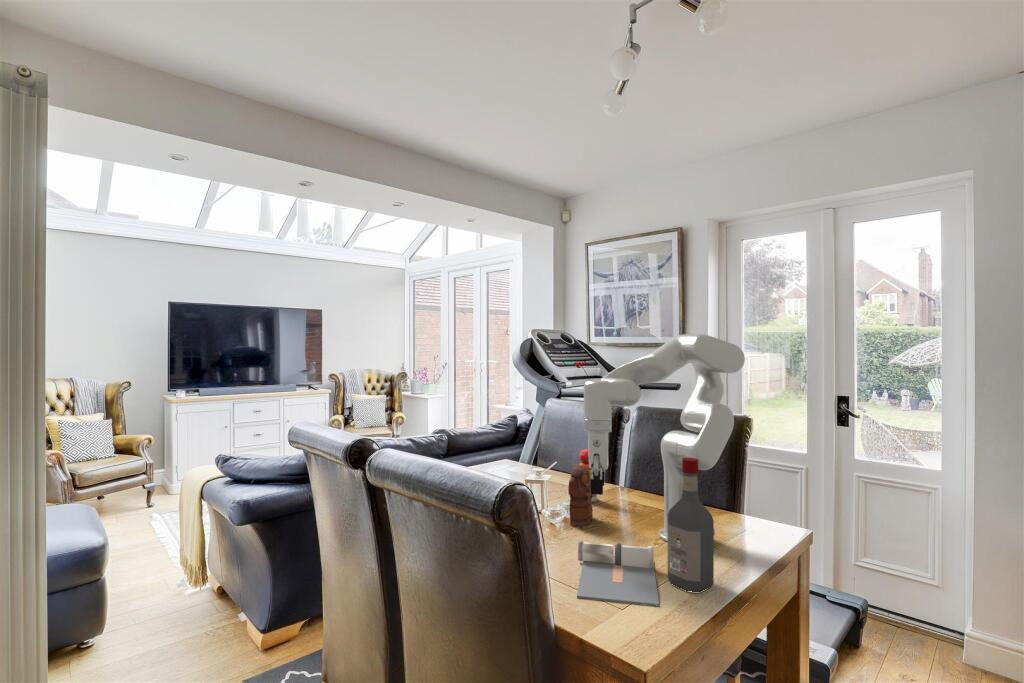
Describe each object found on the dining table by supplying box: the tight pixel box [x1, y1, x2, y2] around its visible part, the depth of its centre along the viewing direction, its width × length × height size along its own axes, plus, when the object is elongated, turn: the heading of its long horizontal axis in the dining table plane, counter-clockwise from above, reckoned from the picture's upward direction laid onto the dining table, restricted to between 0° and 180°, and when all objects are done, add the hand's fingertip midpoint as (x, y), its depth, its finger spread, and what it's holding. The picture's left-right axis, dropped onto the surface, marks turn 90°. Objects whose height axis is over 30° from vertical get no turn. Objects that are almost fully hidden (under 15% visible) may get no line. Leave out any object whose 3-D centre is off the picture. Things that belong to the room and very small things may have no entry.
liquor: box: [667, 458, 715, 593], centre depth 125 cm, size 9×9×30 cm
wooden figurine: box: [567, 464, 594, 527], centre depth 168 cm, size 12×6×18 cm, turn 157°
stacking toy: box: [578, 448, 598, 503], centre depth 191 cm, size 8×8×19 cm
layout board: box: [576, 542, 660, 607], centre depth 128 cm, size 18×24×6 cm
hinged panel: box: [577, 540, 614, 563], centre depth 136 cm, size 9×1×5 cm, turn 78°
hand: (597, 489), depth 142 cm, fingers open, 7 cm apart
